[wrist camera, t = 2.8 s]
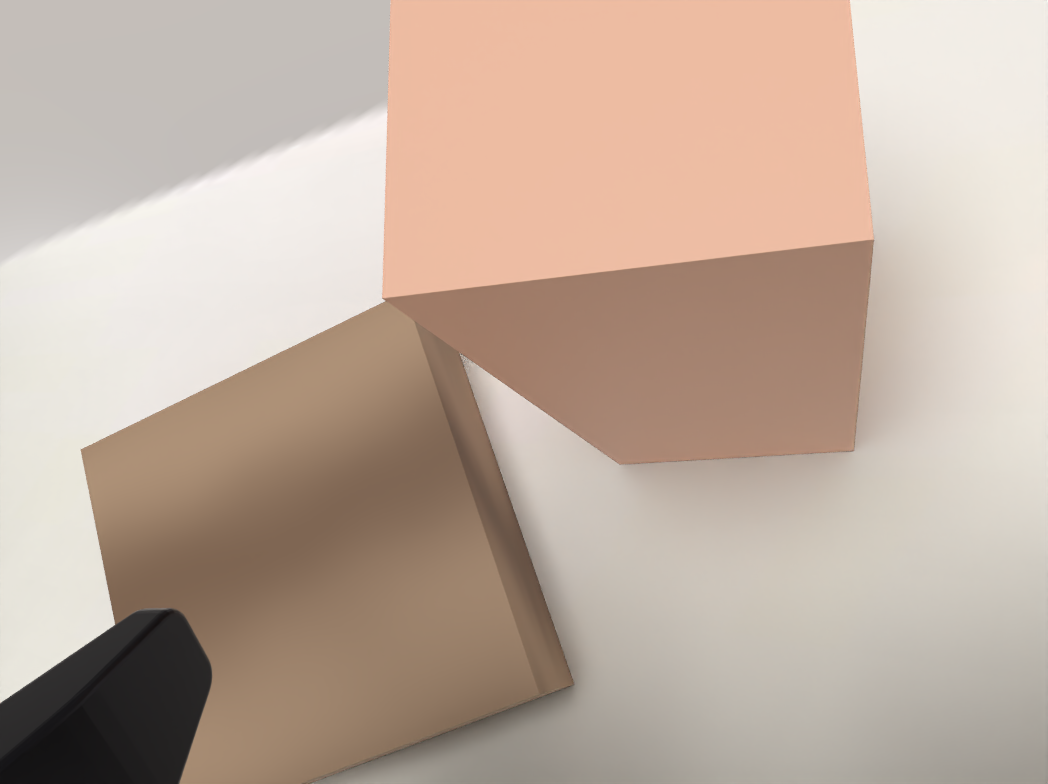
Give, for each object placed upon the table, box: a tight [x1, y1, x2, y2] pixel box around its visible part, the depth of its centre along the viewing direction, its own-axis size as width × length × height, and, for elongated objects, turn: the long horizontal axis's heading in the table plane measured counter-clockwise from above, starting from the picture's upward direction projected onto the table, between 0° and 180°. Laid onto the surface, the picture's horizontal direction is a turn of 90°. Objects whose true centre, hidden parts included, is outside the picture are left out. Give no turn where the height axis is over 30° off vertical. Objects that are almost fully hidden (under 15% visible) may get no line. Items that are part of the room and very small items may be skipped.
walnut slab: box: [81, 301, 574, 784], centre depth 22 cm, size 9×9×3 cm
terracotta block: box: [382, 0, 874, 464], centre depth 16 cm, size 5×5×12 cm
